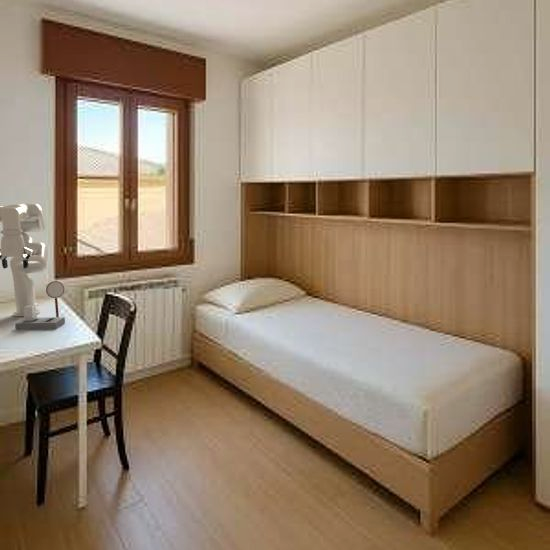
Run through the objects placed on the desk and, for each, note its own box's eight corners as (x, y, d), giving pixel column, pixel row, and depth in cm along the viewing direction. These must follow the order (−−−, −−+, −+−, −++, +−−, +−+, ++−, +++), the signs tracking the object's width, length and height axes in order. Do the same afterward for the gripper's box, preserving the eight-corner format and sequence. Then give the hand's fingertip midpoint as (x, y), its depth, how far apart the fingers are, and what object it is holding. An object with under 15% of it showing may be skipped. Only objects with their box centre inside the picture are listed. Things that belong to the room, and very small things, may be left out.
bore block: (26, 323, 241) (25, 317, 240) (65, 322, 242) (64, 317, 241) (15, 329, 230) (14, 323, 230) (56, 328, 231) (55, 322, 230)
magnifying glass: (49, 321, 246) (45, 282, 242) (48, 320, 247) (45, 281, 244) (67, 318, 251) (64, 280, 248) (66, 317, 252) (63, 280, 249)
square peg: (29, 325, 238) (27, 305, 236) (37, 325, 238) (35, 305, 236) (25, 327, 234) (23, 307, 232) (33, 327, 234) (31, 307, 232)
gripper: (-11, 233, 231) (-7, 269, 234) (26, 233, 232) (30, 268, 235) (-3, 232, 238) (1, 267, 241) (33, 232, 239) (36, 266, 242)
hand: (15, 267), depth 238 cm, fingers open, 9 cm apart
